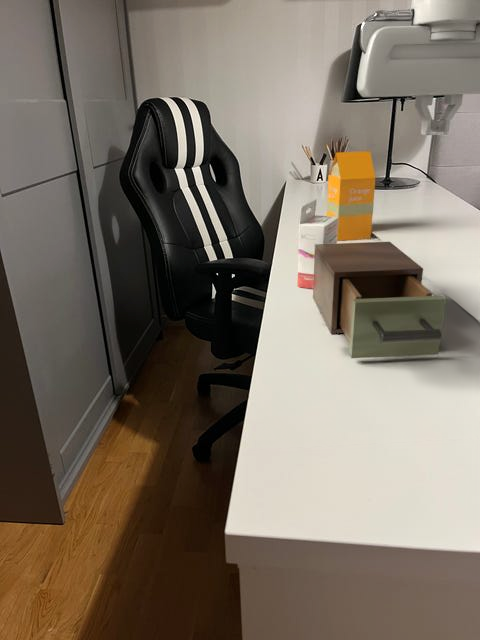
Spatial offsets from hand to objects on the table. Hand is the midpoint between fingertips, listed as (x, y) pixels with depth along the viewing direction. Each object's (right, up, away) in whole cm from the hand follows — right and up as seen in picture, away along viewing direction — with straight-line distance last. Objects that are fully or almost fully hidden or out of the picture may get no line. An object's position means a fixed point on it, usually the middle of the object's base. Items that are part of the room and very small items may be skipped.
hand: (434, 134), depth 64 cm
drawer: (-5, -27, +5) cm, 28 cm away
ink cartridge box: (-10, -17, +30) cm, 36 cm away
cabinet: (-6, -23, +16) cm, 28 cm away
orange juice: (+2, -3, +61) cm, 61 cm away
